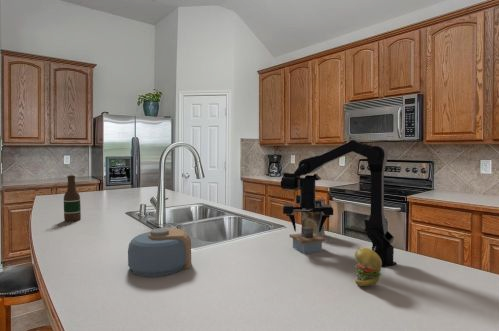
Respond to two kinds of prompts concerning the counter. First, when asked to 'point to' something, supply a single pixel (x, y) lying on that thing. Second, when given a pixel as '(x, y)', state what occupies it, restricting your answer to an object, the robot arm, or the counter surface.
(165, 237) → the blue squat cylinder
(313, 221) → the coffee box
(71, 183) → the beer bottle
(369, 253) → the hamburger
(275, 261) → the counter surface
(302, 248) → the light blue open box
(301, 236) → the lid
